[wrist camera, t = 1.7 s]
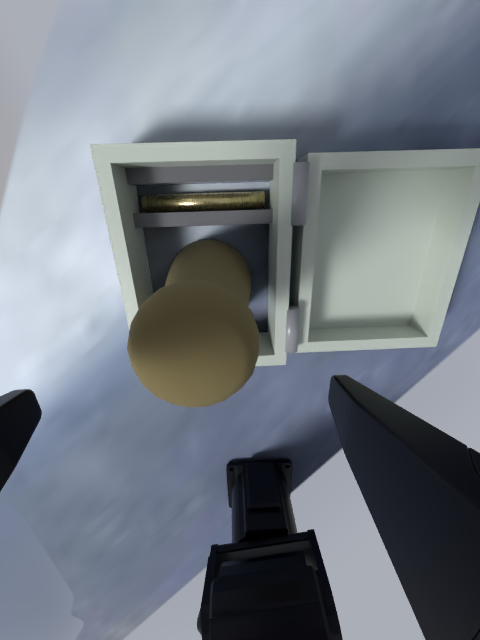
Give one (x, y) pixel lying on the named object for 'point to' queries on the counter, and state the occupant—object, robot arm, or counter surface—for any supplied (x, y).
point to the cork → (197, 328)
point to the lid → (381, 246)
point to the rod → (203, 201)
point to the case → (206, 214)
